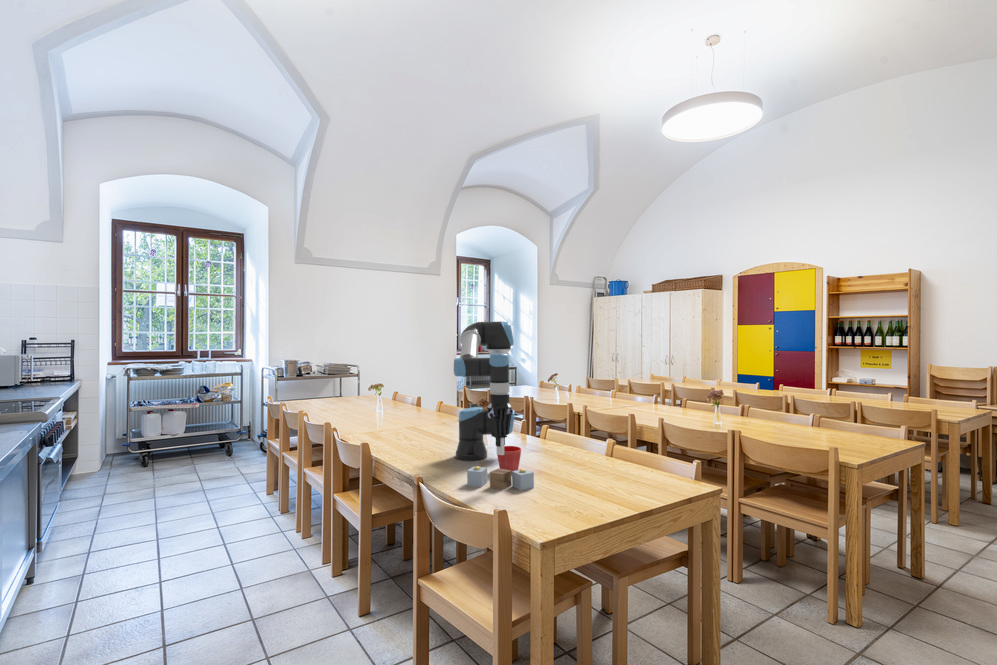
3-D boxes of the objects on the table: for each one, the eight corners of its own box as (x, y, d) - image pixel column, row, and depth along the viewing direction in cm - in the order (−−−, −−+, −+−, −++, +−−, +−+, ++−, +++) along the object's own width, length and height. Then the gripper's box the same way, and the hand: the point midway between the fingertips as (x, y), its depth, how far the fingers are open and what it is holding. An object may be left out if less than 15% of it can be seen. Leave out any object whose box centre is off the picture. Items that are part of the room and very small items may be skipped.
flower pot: (522, 467, 221) (521, 445, 221) (520, 474, 210) (520, 451, 210) (498, 467, 222) (497, 445, 222) (495, 474, 211) (495, 451, 211)
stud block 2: (525, 484, 197) (524, 466, 197) (533, 488, 192) (533, 470, 192) (512, 486, 194) (512, 469, 194) (520, 490, 189) (520, 472, 189)
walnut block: (498, 483, 199) (498, 468, 199) (511, 485, 195) (511, 470, 195) (490, 487, 194) (489, 472, 194) (503, 490, 190) (502, 474, 190)
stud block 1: (473, 481, 201) (472, 464, 201) (487, 482, 200) (486, 465, 200) (467, 486, 196) (467, 468, 196) (481, 487, 194) (481, 469, 194)
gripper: (504, 391, 202) (504, 450, 201) (480, 394, 192) (481, 455, 192) (518, 392, 196) (518, 452, 196) (494, 395, 187) (495, 459, 187)
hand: (500, 454), depth 194 cm, fingers closed
